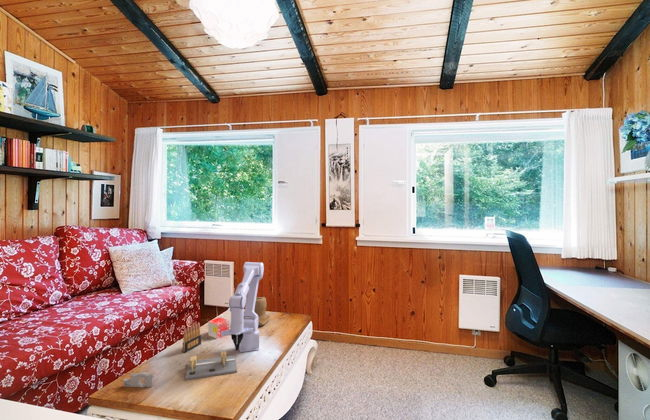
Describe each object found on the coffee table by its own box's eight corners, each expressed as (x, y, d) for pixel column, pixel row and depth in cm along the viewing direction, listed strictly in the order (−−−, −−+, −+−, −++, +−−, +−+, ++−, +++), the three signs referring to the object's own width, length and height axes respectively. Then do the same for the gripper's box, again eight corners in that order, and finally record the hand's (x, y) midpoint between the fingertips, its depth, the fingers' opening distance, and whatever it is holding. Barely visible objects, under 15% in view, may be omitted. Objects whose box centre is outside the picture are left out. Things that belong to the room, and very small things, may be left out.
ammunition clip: (185, 353, 158) (185, 329, 157) (182, 352, 158) (182, 328, 158) (201, 344, 168) (201, 321, 167) (198, 343, 168) (198, 321, 168)
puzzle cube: (208, 335, 178) (208, 321, 178) (219, 330, 185) (219, 317, 185) (217, 339, 174) (217, 324, 174) (229, 334, 181) (229, 320, 180)
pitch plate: (235, 357, 154) (235, 347, 154) (236, 372, 141) (237, 362, 141) (188, 363, 148) (188, 353, 148) (185, 380, 134) (185, 369, 134)
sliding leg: (226, 358, 150) (226, 351, 150) (226, 367, 142) (226, 359, 142) (220, 359, 149) (220, 352, 149) (221, 368, 142) (221, 360, 141)
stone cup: (255, 316, 207) (255, 294, 207) (272, 318, 205) (272, 295, 204) (244, 325, 192) (244, 301, 192) (263, 327, 190) (263, 303, 189)
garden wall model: (122, 387, 129) (122, 373, 129) (125, 384, 131) (125, 370, 130) (152, 387, 129) (152, 373, 129) (155, 385, 131) (155, 370, 131)
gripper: (221, 325, 143) (220, 355, 143) (254, 322, 148) (253, 351, 148) (220, 320, 150) (220, 348, 150) (252, 317, 154) (252, 344, 155)
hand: (236, 349), depth 150 cm, fingers closed
